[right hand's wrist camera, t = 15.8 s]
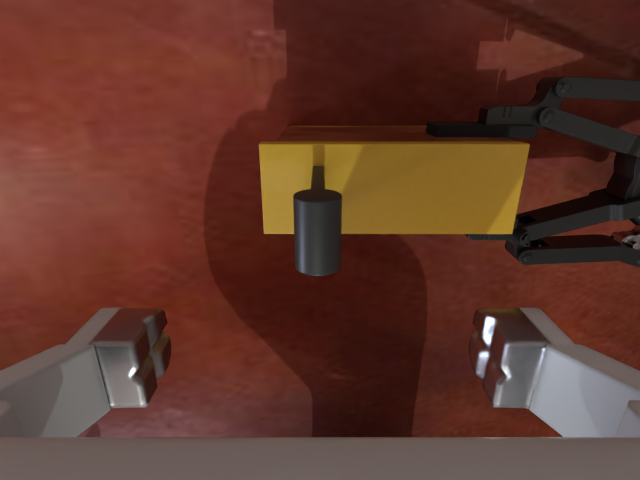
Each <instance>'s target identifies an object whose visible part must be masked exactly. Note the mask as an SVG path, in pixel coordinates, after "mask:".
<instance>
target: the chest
mask: <svg viewBox="0 0 640 480" xmlns="http://www.w3.org/2000/svg"><path fill="white" fill-rule="evenodd" d="M278 141H279V142H520V141H517V140H514V139H510V138H507V137H435V136H433V135H431V134H428V133H426V126H287V129H286V130H285V131H284V133H283V134H282V135H281V137H280V138H279V139H278Z"/></svg>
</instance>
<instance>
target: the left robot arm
mask: <svg viewBox="0 0 640 480" xmlns="http://www.w3.org/2000/svg"><path fill="white" fill-rule="evenodd" d="M536 91H537V93H536V94H535V96H534V98H533V99H532V101H531V102H529V103H528V104H526V105H487V106H485V107H482V108H480V111H479V118H478V122H427V126H426V133H428V134H431V135H433V136H435V137H507V138H535V137H536V132H537V127H541V128H544V129H547V130H550V131H553V132H556V133H559V134H562V135H565V136H568V137H571V138H574V139H577V140H580V141H583V142H586V143H589V144H592V145H595V146H598V147H601V148H603V149H606V150H609V151H612V152H615V153H616V157H615V160H614V173H613V175H612V177H611V179H610V180H609V182H608V185H607V188H604V189H601V190H597V191H593V192H590V193H589V195H588V196H585V197H581V198H578V199H574V200H570V201H566V202H562V203H559V204H555V205H551V206H547V207H544V208H540V209H536V210H532V211H529V212H525V213H521V214H517V215H516V218H515V223H514V228H513V233H512V234H465V235H466V236H467V237H468V238H470V239H473V240H506V244H505V248H506V250H507V251H508V252H509V253H510V254H511V255H513V256H514V257H515V258H516V259H517V260H518V261H519V262H520V263H522V264H525V265H531V264H555V263H579V262H603V261H621V262H624V263H627V264H630V265H633V266H637V267H640V136H637V135H633V134H630V133H627V132H624V131H622V130H619V129H616V128H613V127H610V126H607V125H604V124H601V123H598V122H595V121H592V120H589V119H586V118H583V117H580V116H577V115H574V114H571V113H568V112H565V111H562V110H559V107H560V106H561V104H562V102H563V100H564V98H565V97H568V98H587V99H605V100H623V101H640V81H636V80H618V79H600V78H582V77H546V78H543V79H541V80H540V81H539V82H538V84H537V86H536ZM627 219H629V220H630V221H632V222H633V223H634V224H635V225H636V226H635V228H633V229H632V230H630V231H622V232H619V233H618V232H613V233H612V234H611V237H610V236H606V235H572V236H551V235H555V234H559V233H563V232H567V231H571V230H574V229H578V228H582V227H586V226H590V225H594V224H598V223H602V222H606V221H610V220H616V221H623V220H627ZM547 236H549V237H547Z"/></svg>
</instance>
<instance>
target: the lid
mask: <svg viewBox="0 0 640 480" xmlns="http://www.w3.org/2000/svg"><path fill="white" fill-rule="evenodd" d="M529 148H530V144H528V143H524V142H279V141H262V142H261V143H260V144H259V156H260V173H261V191H262V208H263V226H264V234H294V249H295V267H296V269H297V270H298V271H299V272H301V273H303V274H306V275H311V276H324V275H329V274H333V273H335V272H336V271H338V270H339V268H340V266H341V234H512V233H513V228H514V223H515V218H516V213H517V208H518V203H519V198H520V193H521V188H522V183H523V178H524V173H525V168H526V163H527V158H528V153H529Z"/></svg>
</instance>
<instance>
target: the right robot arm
mask: <svg viewBox="0 0 640 480" xmlns="http://www.w3.org/2000/svg"><path fill="white" fill-rule="evenodd" d="M166 324H167V319H166V315H165V312H164V311H163V310H162V309H160V308H102V309H100V310H99V311H98V312H97V313H96V314H95V315H94V316H93V317H92V318H91V319H90V320H89V321H88V322H87V323H86V324H85V325H84V326H83V327H82V328H81V329H80V330H79V331H78V332H77V333H76V334H75V335H74V336H73V337H72V338H71V339H70V340H69V341H68V342H67V343H66V344H65V345H56V346H54V347H52V348H50V349H48V350H45V351H43V352H41V353H39V354H37V355H34V356H32V357H30V358H28V359H25V360H23V361H21V362H19V363H17V364H14V365H12V366H10V367H8V368H6V369H3V370H1V371H0V480H640V371H639V370H637V369H634V368H632V367H630V366H628V365H625V364H623V363H621V362H619V361H617V360H614V359H612V358H610V357H608V356H606V355H603V354H601V353H599V352H597V351H595V350H592V349H590V348H588V347H586V346H584V345H575V344H574V343H573V342H572V341H571V340H570V339H569V338H568V337H567V336H566V335H565V334H564V333H563V332H562V331H561V330H560V329H559V328H558V327H557V326H556V325H555V324H554V323H553V322H552V321H551V320H550V319H549V318H548V317H547V316H546V315H545V314H544V312H543V311H542V310H541V309H538V308H536V307H532V308H503V309H477V310H476V312H475V314H474V319H473V324H474V326H475V327H476V329H477V331H476V332H475V333H474V334H473V335H472V336H471V337H470V343H469V357H470V362H471V365H472V368H473V370H474V372H475V374H477V375H478V376H480V377H481V378H483V379H484V381H483V389H484V390H485V392H486V394H487V396H488V398H489V399H490V401H491V403H492V405H493V407H510V408H530V409H529V410H530V411H532V412H533V413H534V414H535V415H537V416H538V417H539V418H541V419H542V420H543V421H544V422H546V423H547V424H548V425H549V426H551V427H552V428H553V429H554V430H556V431H557V432H558V433H559V434H561V435H562V436H563V437H77V436H78V435H79V434H81V433H82V432H83V431H84V430H86V429H87V428H88V427H90V426H91V425H92V424H93V423H95V422H96V421H97V420H98V419H100V418H101V417H102V416H103V415H105V414H106V413H107V412H108V411H110V408H129V407H147V405H148V403H149V401H150V400H151V398H152V396H153V394H154V392H155V390H156V389H157V381H156V379H157V378H159V377H160V376H162V375H163V374H165V372H166V370H167V368H168V366H169V361H170V357H171V342H170V337H169V336H168V335H167V334H166V333H165V332H164V331H163V329H164V327H165V326H166Z"/></svg>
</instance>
